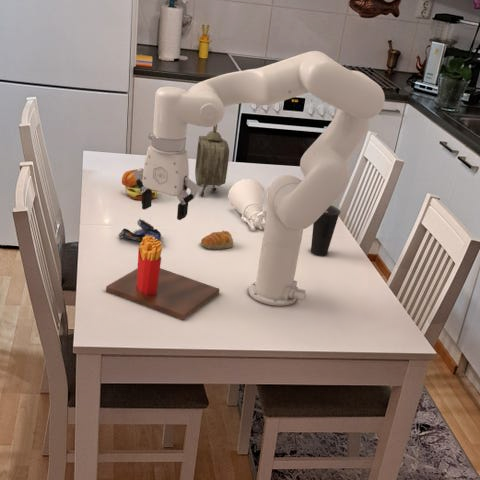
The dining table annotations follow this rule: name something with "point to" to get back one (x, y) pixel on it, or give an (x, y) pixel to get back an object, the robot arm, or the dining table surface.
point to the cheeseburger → (133, 185)
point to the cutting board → (166, 293)
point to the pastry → (218, 240)
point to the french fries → (148, 265)
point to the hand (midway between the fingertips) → (163, 213)
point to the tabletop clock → (211, 160)
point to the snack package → (141, 232)
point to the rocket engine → (248, 201)
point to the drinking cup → (324, 231)
